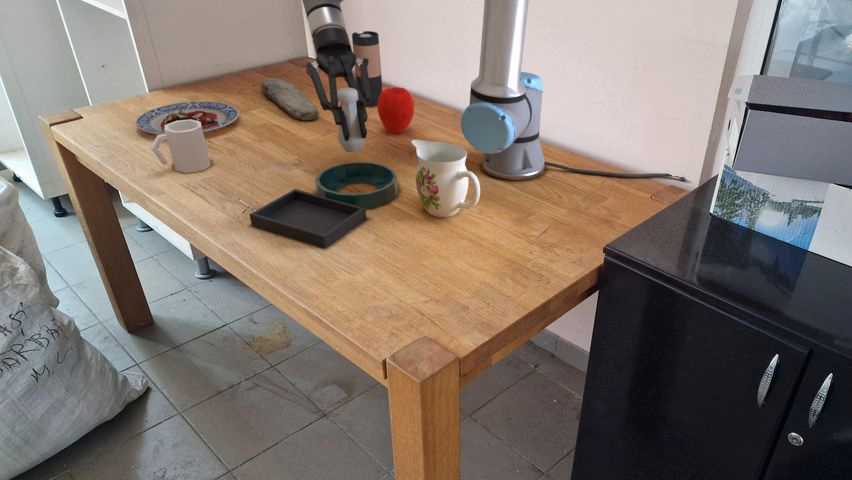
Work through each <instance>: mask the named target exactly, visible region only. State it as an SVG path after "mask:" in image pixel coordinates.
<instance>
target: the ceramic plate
mask: <svg viewBox="0 0 852 480" xmlns="http://www.w3.org/2000/svg"><path fill="white" fill-rule="evenodd" d="M239 116H240V111H239V110H238V108H237V107H235V106H233V105H231V104H229V103H228V104H227V103H223V102H219V101H208V100H207V101H206V100H205V101H204V100H203V101H201V100H200V101H183V102H178V103H177V102H176V103H171V104H167V105H162V106H159V107H155V108H153V109H150V110H148V111H146V112H144V113H143V114H141V115H140V116H139V117H137V119H136V122H135V124H136V127H137V128H138V129H139V130H141V131H143V132H144V133H145V132H146V133H149V134H153V135H162V134H165V131H164V128H165V125H167V124H169V123H172V122H175V121H179V120H195V121H199V122H201V126H202V130H203V134H204V133H208V132H211V131H212V132H213V131H216V130H218V129H221V128H222V129H223V128H224V127H226V126H229V125H231V124H233V123H234V122H235V121H236V120H237V119H239Z"/></svg>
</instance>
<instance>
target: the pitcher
mask: <svg viewBox="0 0 852 480" xmlns="http://www.w3.org/2000/svg"><path fill="white" fill-rule="evenodd" d="M411 145H412V146H413V148H415V150H416V152H415V153H416V159H417V161H418V165H417V168H416V171H415V172H416V173H415V174H416V175H415V187H416V191H417V195H418V198H419V200H420V203H421V205H422V206H423V208H424V209H425V210H426V211H427V213H428V214H429V215H431V216H433V217H437V218H438V217H439V218H447V217H452V216H454V215H456V214H457V213H458V212H459V211H460V209H462V210H468V209H471V208H474V207H475V206H476V205H477V204H478V203H479V200H480V197H481V185H480V181H479V179H478V177H477V175H476V174H475V173H473V171H470V170H468V169H467V166H466V160H467V156H468V155H467V154H468V152H467V150H466V148H464V147H462V146H461V145H458V144H456V143H455V144H454V143H451V142H443V141H431V140H426V139H417V138H416V139H412V140H411ZM469 181H471V183H472V186H473V187H472V188H473V196H472V199H471V200H470V201H467V202H465V200H466V198H467V193H468V189H469Z"/></svg>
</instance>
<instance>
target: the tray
mask: <svg viewBox="0 0 852 480" xmlns="http://www.w3.org/2000/svg"><path fill="white" fill-rule="evenodd" d="M367 219H368V218H367V209H366V208H363V207H359V206H356V205H352V204H348V203H345V202H341V201H337V200H334V199H330V198H326V197H323V196H319V195H318V194H317V193H316V194H315V193H311V192H308V191H305V190H300V189H297V188H294V189H291V190H290V191H288V192H287V193H285V194H283V195H281V196H279V197H278V198H276V199H274V200H272V201H271V202H269V203H267V204H265V205H263V206H261V207H260V208H258V209H257V210H255V211H252V212H251V213H249V220H250V223H251V226H252V227H255V228H258V229H261V230H264V231H268V232H271V233H275V234H278V235H281V236H284V237H287V238H291V239H293V240H297V241H300V242H304V243H307V244H310V245H313V246H316V247H320V248H323V249H327V248H328V247H329V246H330V245H332V244H334V243H335V242H336V241H338V240H340V239H341V238H342V237H343V236H345V235H346V234H348V233H349V232H351V231H352V230H353V229H355V228H356V227H357V226H359V225H360V224H362V223H363V222H365V221H366V220H367Z"/></svg>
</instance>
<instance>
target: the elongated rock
mask: <svg viewBox="0 0 852 480" xmlns="http://www.w3.org/2000/svg"><path fill="white" fill-rule="evenodd" d="M260 87H261V90H262V92H264V94H266V95H267V96H268V100H271V101H273V102H274V103H276V104H277V105H278V106H279V107H280V108H282V109H283V110H284V111H285V112H287V113H288V114H289V115H290V116H291V117H292V118H295V119H298V120H300V121H313V120H317V119H318V117H319V116H318V115H319V111H318V108H317V105H316V104H314V103H313V102H312V100H311V99H309V98H308V96H306V95H305V94H304V93H303V92H302V90H301V88H300V87H299V86H296V85H295V84H294V83H291V82H289V81H286V80H284V79H280V78H276V77H275V78H274V77H273V78H272V77H271V78H266V79H263V80H261V82H260Z"/></svg>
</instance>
